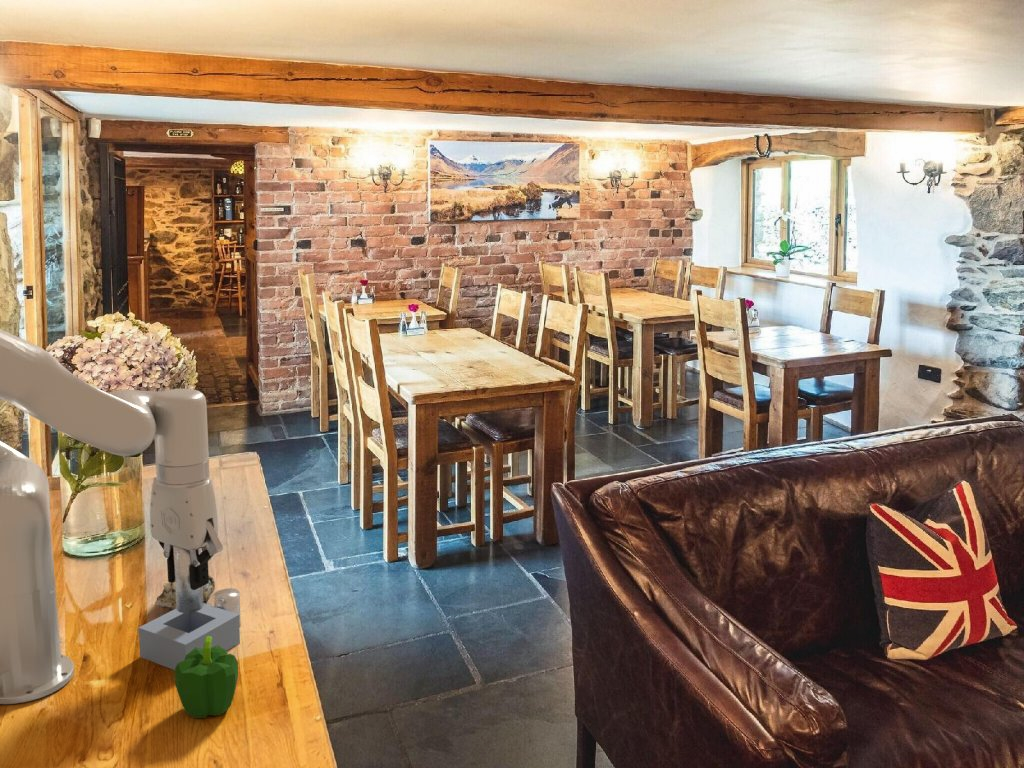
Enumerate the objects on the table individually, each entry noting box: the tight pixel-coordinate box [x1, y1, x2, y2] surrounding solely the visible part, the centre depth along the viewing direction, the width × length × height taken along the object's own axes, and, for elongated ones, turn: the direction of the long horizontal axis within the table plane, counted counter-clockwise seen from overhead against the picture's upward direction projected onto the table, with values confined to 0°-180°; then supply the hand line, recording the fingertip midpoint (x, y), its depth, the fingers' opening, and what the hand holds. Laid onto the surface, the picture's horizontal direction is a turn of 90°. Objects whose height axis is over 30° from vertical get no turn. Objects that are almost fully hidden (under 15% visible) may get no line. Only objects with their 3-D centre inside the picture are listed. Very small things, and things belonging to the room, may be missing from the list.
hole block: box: [138, 602, 241, 671], centre depth 139 cm, size 11×10×5 cm
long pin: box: [173, 546, 205, 613], centre depth 136 cm, size 4×4×12 cm
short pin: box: [213, 587, 241, 629], centre depth 146 cm, size 4×4×6 cm
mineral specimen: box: [154, 575, 216, 610], centre depth 154 cm, size 12×9×8 cm
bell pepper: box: [173, 636, 239, 719], centre depth 123 cm, size 8×8×10 cm
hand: (188, 581), depth 137 cm, fingers closed on long pin, 4 cm apart
